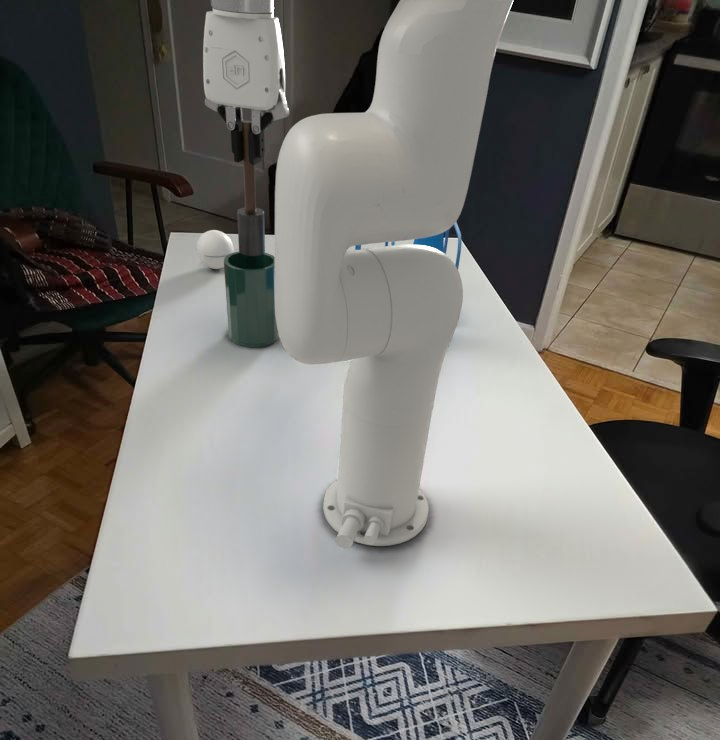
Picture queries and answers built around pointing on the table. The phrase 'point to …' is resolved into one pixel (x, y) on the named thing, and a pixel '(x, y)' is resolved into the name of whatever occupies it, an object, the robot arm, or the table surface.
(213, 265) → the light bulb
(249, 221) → the brush
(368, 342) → the robot arm
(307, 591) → the table surface
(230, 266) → the cup
